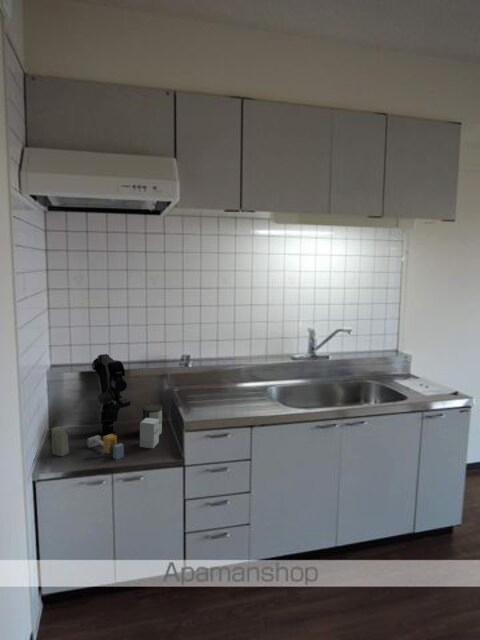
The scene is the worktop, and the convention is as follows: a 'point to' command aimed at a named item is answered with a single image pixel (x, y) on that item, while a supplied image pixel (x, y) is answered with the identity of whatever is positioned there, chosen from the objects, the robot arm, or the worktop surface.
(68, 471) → the worktop surface
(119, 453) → the grey mallet
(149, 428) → the supplement box
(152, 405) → the coffee can
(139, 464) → the worktop surface
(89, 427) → the worktop surface
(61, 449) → the skincare box
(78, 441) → the worktop surface
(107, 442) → the sleeve
